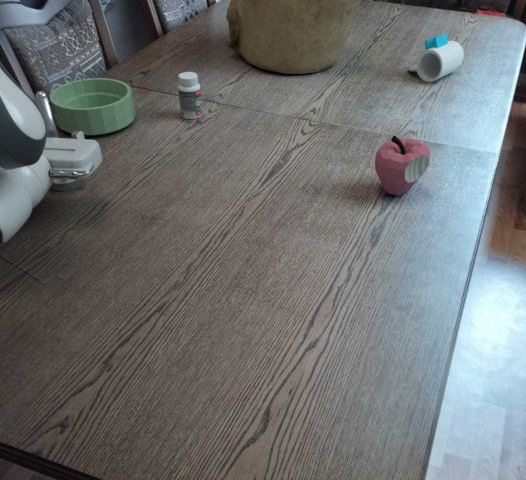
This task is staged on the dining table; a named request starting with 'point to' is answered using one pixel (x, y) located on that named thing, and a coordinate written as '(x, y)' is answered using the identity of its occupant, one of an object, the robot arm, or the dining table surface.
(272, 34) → the ceramic vessel
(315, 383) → the dining table surface
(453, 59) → the mug
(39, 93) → the metal stand
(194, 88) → the pill bottle
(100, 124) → the bowl
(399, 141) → the apple
